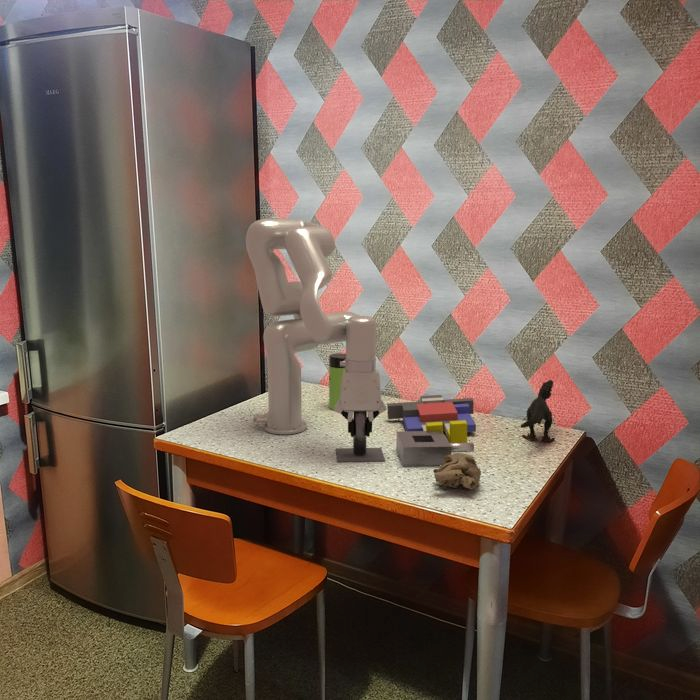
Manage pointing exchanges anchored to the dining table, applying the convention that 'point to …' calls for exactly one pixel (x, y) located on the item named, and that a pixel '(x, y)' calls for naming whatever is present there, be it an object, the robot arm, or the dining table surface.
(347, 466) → the dining table surface
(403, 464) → the block
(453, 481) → the tan lumpy mass
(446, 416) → the toy
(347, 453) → the mat
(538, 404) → the toy
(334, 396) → the tumbler
